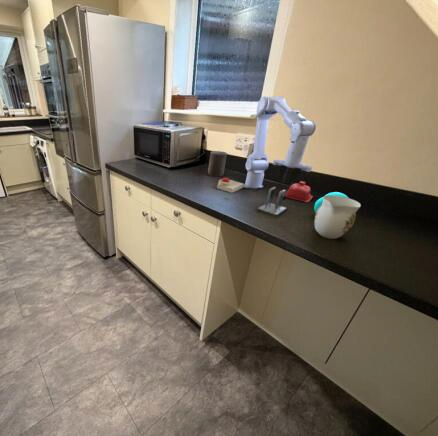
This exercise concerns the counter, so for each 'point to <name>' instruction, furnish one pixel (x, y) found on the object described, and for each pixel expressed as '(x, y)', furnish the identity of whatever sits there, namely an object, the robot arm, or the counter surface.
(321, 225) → the pitcher
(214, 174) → the pillar candle
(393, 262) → the counter surface
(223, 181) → the button
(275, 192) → the lever
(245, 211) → the counter surface
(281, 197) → the bracket
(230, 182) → the button box
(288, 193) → the butter dish
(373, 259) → the counter surface
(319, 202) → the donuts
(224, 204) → the counter surface
